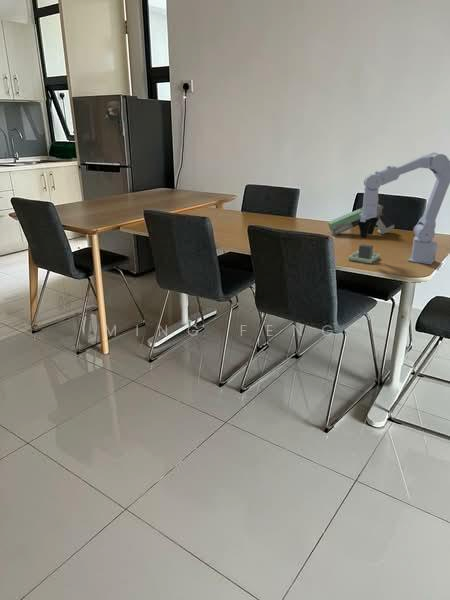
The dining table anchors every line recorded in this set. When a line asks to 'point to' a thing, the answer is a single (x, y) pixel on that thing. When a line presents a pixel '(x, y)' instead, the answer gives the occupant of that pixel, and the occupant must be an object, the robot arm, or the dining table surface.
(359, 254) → the plug
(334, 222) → the long mint green beam
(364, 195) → the robot arm
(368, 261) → the tray
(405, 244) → the dining table surface
